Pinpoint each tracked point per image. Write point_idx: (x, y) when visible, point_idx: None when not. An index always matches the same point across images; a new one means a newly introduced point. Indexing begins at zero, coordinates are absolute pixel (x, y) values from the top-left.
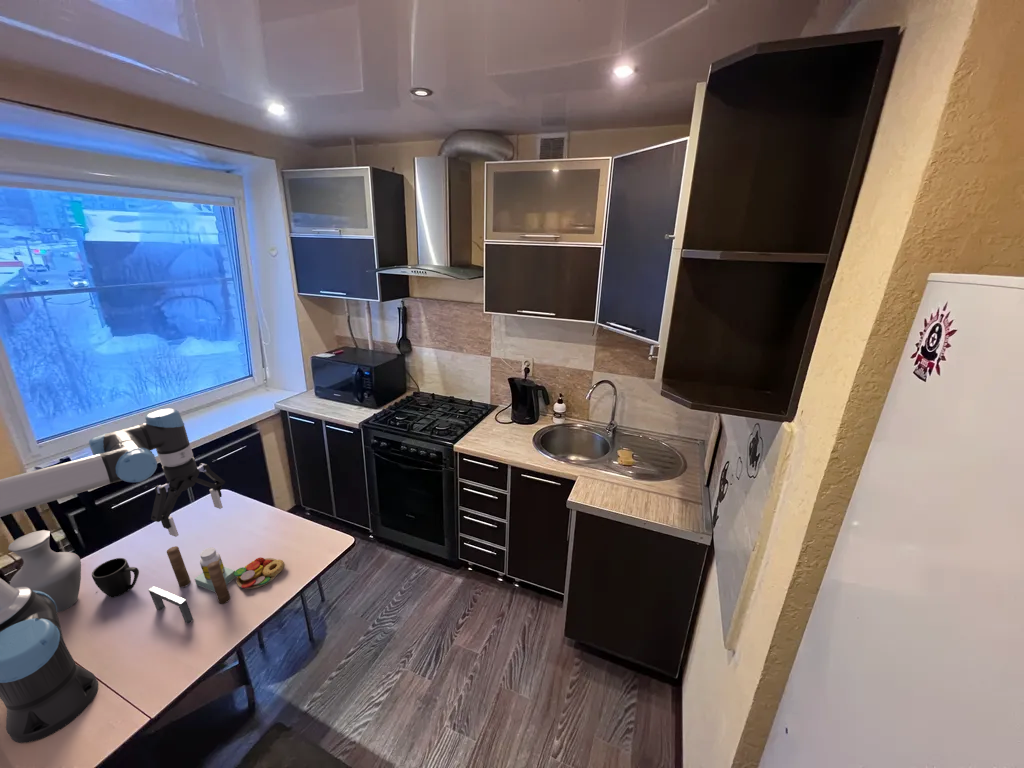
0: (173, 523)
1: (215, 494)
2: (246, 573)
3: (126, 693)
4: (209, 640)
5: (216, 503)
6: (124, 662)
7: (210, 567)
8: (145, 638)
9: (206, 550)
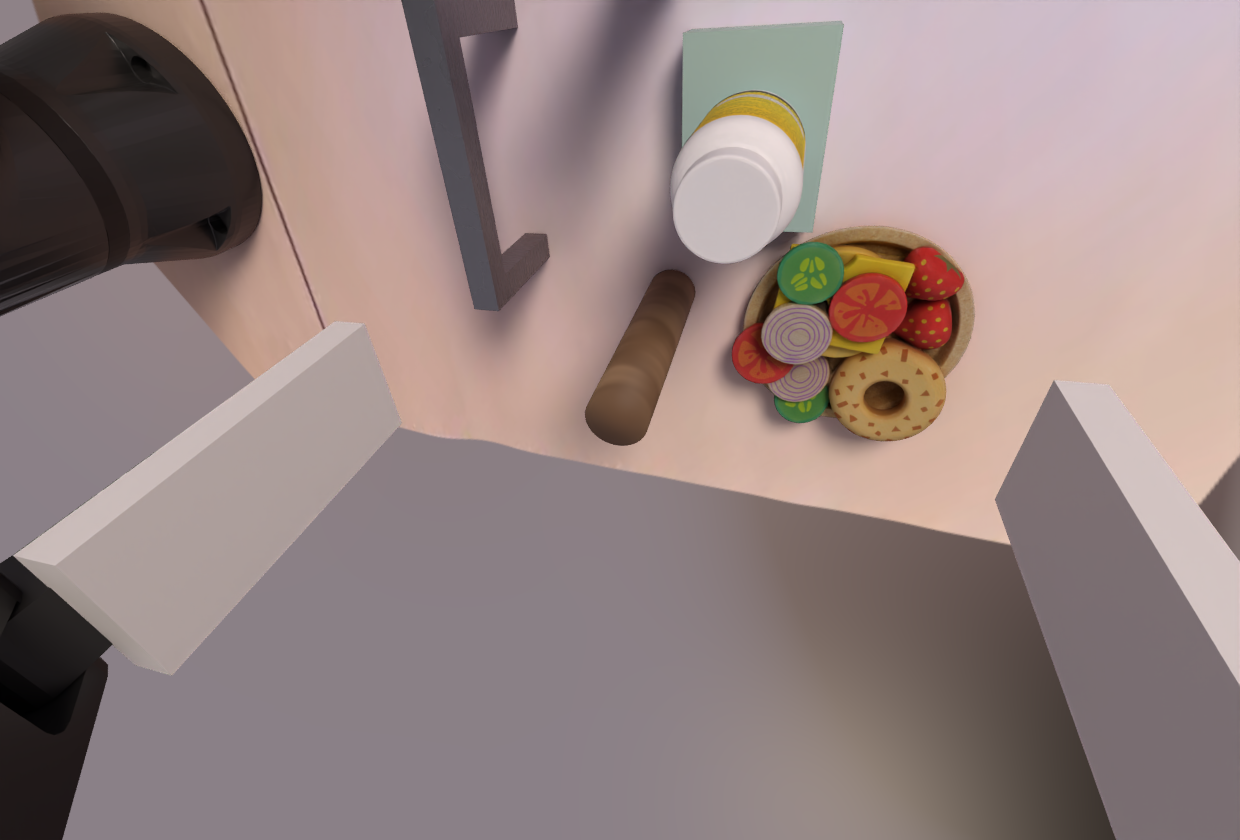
0: (258, 566)
1: (1125, 821)
2: (803, 322)
3: (324, 307)
4: (533, 386)
5: (1049, 526)
6: (331, 184)
7: (596, 421)
8: (404, 146)
9: (736, 184)
